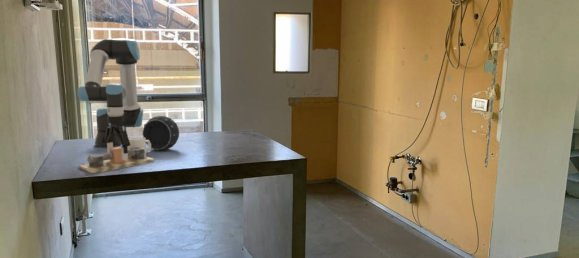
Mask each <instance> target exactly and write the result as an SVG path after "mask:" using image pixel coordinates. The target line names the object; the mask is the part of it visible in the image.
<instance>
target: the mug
mask: <svg viewBox="0 0 579 258" xmlns="http://www.w3.org/2000/svg"><path fill="white" fill-rule="evenodd" d="M128 139H129V142H130V146H128V147H127V149H128V150H131V148H144V149H145V153H144V156H145V157H147V154H149V153H151V151H152V149H151V143H150V141H149V140H146V138H145V137H143V136H131V137H130V136H128ZM146 142H147V143H148V145H147V144H146ZM147 146H148V149H147ZM128 157H129V156H128Z"/></svg>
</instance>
